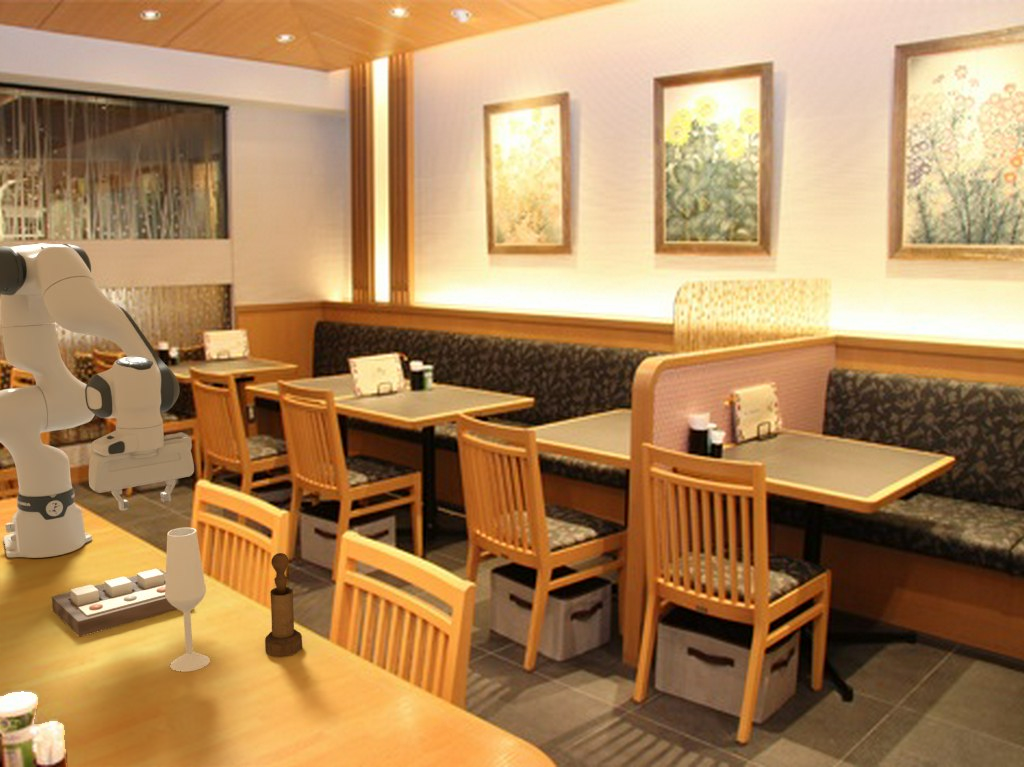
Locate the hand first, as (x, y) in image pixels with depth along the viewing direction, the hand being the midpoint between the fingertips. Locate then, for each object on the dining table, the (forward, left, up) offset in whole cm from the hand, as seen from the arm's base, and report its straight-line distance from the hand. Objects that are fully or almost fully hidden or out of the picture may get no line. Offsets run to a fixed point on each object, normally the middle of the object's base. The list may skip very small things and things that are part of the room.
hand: (145, 505), depth 194 cm
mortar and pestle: (+40, +9, -20) cm, 45 cm away
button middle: (0, -6, -18) cm, 19 cm away
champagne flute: (+34, -6, -20) cm, 40 cm away
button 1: (0, -13, -18) cm, 22 cm away
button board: (+2, -6, -20) cm, 21 cm away
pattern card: (+6, -6, -17) cm, 19 cm away
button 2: (0, 0, -18) cm, 18 cm away
